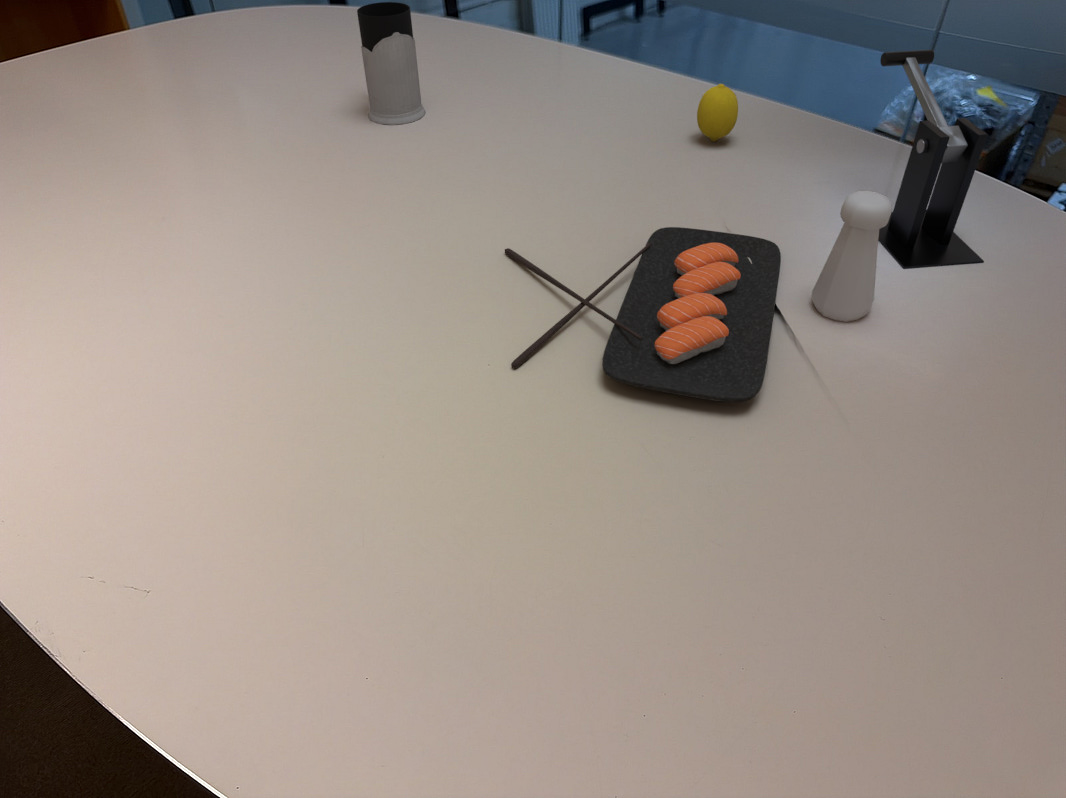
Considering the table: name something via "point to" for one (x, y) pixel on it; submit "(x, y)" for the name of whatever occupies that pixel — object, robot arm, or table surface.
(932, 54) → the lever
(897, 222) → the bracket
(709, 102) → the lemon
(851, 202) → the salt shaker
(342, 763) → the table surface
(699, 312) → the sushi plate
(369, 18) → the glass holder
